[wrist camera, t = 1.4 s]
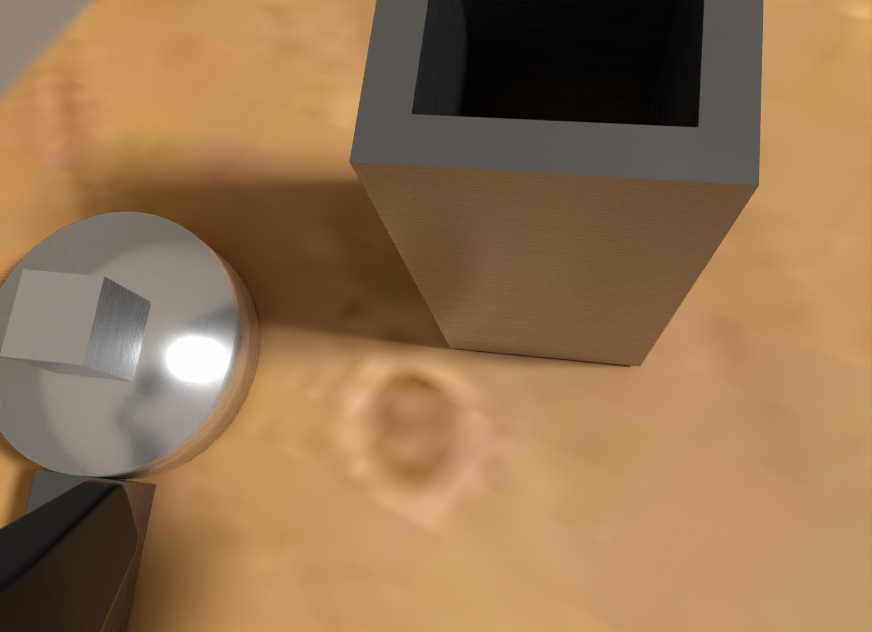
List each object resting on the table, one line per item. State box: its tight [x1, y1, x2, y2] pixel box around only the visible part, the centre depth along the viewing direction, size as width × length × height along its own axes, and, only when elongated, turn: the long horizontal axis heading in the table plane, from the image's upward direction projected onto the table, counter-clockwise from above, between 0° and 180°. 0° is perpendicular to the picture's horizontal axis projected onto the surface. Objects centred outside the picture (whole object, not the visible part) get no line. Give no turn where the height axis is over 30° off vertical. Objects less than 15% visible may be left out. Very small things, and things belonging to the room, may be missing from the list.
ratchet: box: [0, 212, 259, 632], centre depth 21 cm, size 19×8×4 cm, turn 173°
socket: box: [350, 0, 763, 366], centre depth 17 cm, size 6×6×12 cm
